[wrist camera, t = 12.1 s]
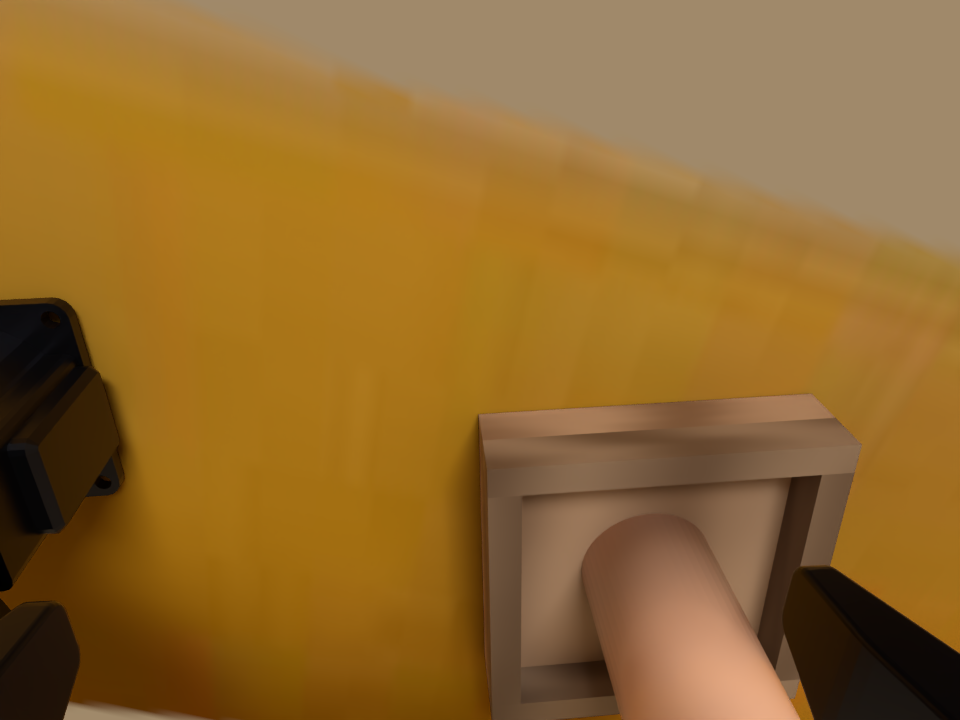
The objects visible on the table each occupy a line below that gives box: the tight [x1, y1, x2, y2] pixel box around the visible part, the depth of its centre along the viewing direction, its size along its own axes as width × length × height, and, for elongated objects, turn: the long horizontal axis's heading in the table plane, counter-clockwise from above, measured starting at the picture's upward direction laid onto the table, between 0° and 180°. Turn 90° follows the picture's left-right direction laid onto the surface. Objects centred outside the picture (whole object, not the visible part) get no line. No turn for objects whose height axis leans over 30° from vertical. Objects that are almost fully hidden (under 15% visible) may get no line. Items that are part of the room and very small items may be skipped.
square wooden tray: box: [479, 394, 862, 720], centre depth 25 cm, size 11×11×3 cm
